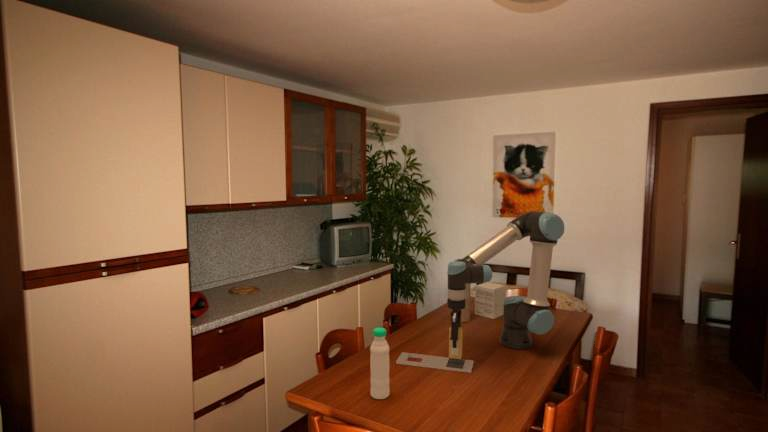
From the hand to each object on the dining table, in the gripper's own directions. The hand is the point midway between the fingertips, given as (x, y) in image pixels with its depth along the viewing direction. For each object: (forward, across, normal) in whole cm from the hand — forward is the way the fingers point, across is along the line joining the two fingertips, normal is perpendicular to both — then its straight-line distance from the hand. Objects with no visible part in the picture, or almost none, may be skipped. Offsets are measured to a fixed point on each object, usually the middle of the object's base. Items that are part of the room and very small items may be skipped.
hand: (455, 352), depth 186 cm
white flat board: (+6, 0, -9) cm, 11 cm away
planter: (+6, -64, -6) cm, 65 cm away
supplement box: (+6, -79, +9) cm, 80 cm away
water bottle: (+6, +34, -23) cm, 41 cm away
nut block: (+2, 0, 0) cm, 2 cm away
